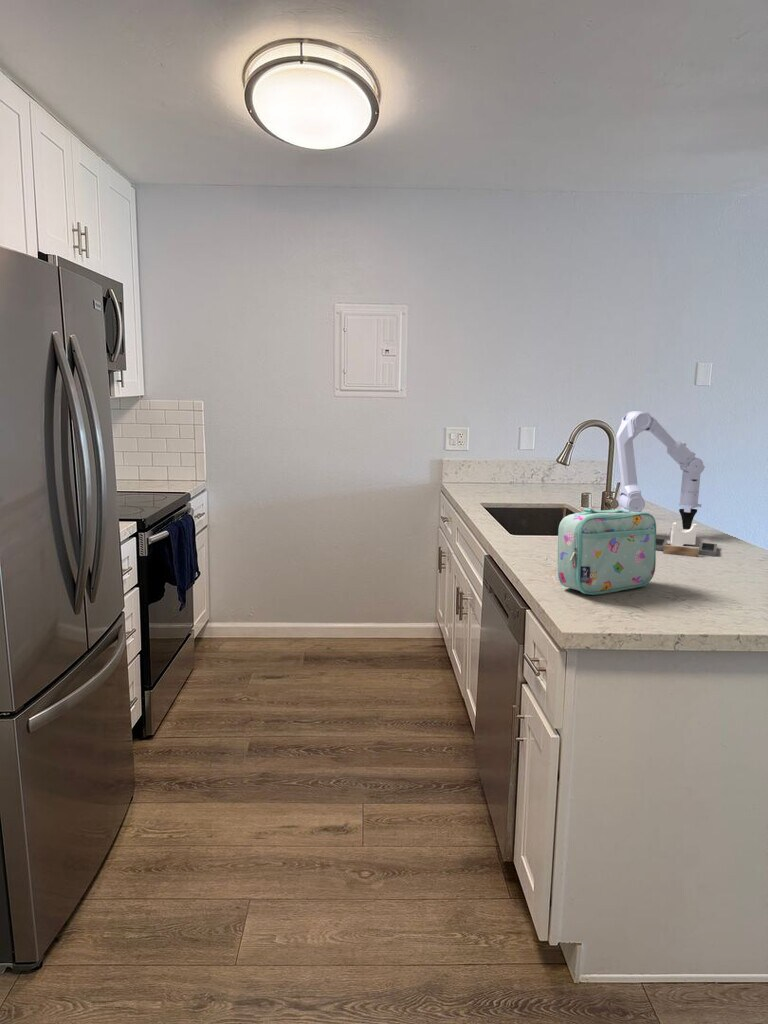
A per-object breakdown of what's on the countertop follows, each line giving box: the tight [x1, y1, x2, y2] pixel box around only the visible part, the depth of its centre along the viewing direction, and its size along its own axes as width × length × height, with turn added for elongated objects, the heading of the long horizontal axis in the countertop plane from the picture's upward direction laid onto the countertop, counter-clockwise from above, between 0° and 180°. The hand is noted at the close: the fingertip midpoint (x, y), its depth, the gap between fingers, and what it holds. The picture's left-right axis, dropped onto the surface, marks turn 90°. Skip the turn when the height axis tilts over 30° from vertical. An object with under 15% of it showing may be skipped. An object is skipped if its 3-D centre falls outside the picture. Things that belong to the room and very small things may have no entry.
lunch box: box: [557, 507, 657, 596], centre depth 172 cm, size 27×10×21 cm, turn 114°
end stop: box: [662, 544, 699, 558], centre depth 210 cm, size 10×2×2 cm, turn 63°
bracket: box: [669, 522, 698, 547], centre depth 228 cm, size 13×7×8 cm, turn 160°
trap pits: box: [656, 537, 718, 557], centre depth 218 cm, size 20×12×2 cm, turn 63°
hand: (686, 529), depth 235 cm, fingers closed
